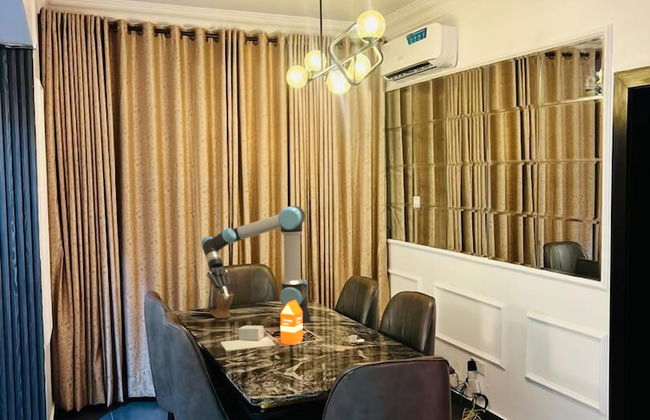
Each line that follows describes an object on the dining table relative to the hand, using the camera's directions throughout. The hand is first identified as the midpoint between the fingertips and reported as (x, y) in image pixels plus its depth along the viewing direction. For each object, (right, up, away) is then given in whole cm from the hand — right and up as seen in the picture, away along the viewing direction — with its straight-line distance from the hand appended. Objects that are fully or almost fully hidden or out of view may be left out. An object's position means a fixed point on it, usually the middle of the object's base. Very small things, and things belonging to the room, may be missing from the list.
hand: (226, 297), depth 296 cm
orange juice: (+34, -19, -15) cm, 42 cm away
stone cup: (-9, -17, +37) cm, 41 cm away
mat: (+13, -20, -19) cm, 31 cm away
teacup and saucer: (+67, -20, -21) cm, 73 cm away
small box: (+9, -16, -9) cm, 20 cm away
